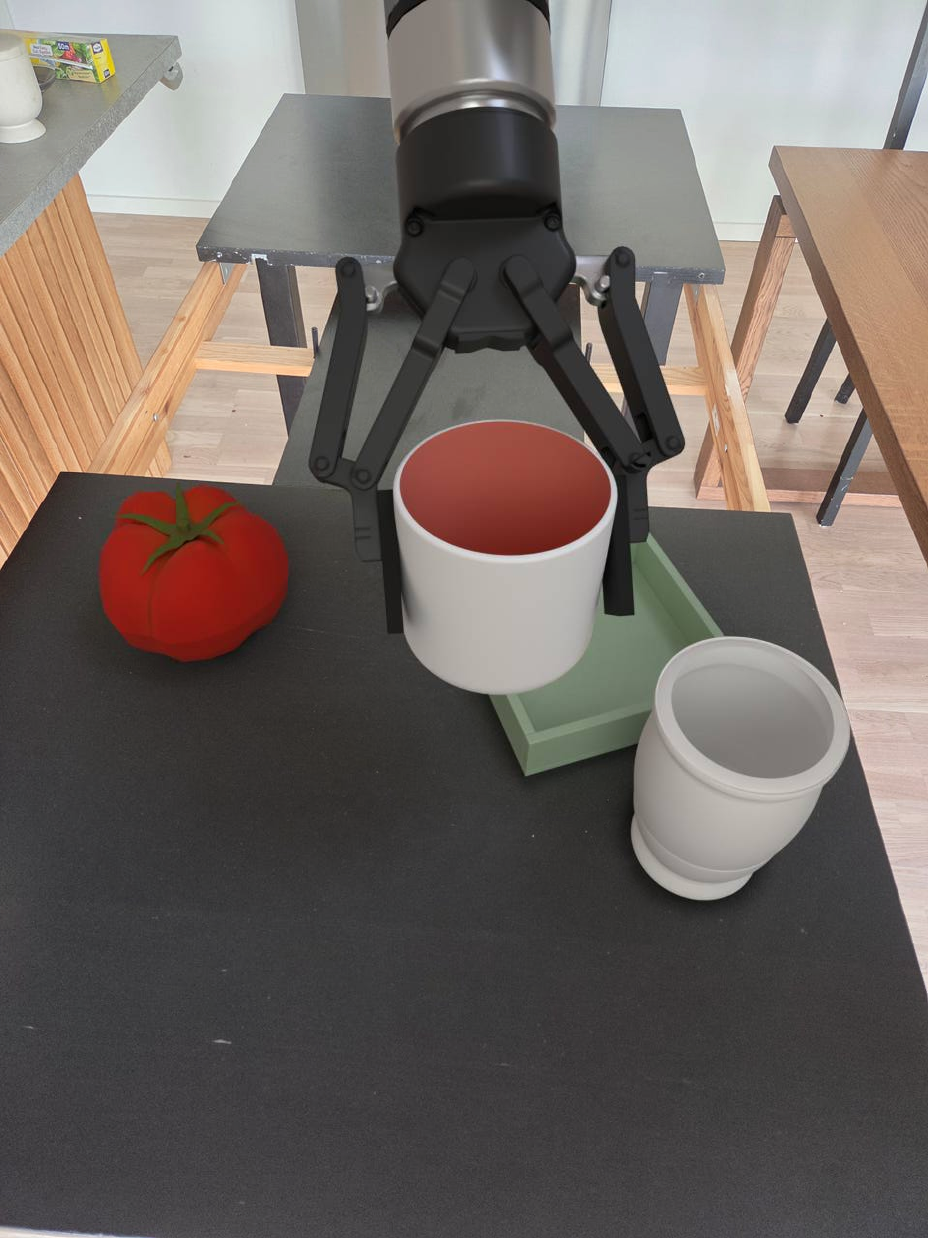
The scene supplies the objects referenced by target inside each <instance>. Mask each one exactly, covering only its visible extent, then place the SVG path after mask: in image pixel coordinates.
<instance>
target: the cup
mask: <svg viewBox="0 0 928 1238" xmlns="http://www.w3.org/2000/svg"><path fill="white" fill-rule="evenodd" d="M392 489H393V499H394V512H395V522H396V532H397V545H398V559H399V572H400V585H401V599H402V612H403V626H404V633H403V634H404V637H405V639H406V642H407V644H408V646H409V648H410V650H411V652H412V653H413V655H414V656H415V657H416V658H417V659H418V661H419V662H420V663H421V664H422V665H423V666H424V667H425V668H426V669H427V670H428V671H430V672H431V673H432V674H433V675H435V676H436V677H438V678H439V679H440V680H442V681H443V682H446V683H447V684H450V685H452V686H453V687H457V688H459V689H462V690H465V691H469V692H472V693H477V694H483V695H489V694H492V695H508V694H518V693H523V692H528V691H532V690H535V689H538V688H541V687H543V686H546V685H548V684H550V683H552V682H553V681H555V680H557V679H558V678H560V677H561V676H563V675H564V674H566V673H567V672H568V671H569V670H570V669H571V668H572V667H573V666H574V665H575V664H576V663H577V662H578V661H579V659H580V658H581V657H582V655H583V654H584V652H585V650H586V649H587V647H588V644H589V642H590V639H591V636H592V632H593V627H594V622H595V617H596V611H597V606H598V601H599V595H600V590H601V584H602V579H603V574H604V568H605V563H606V558H607V552H608V547H609V542H610V537H611V531H612V526H613V521H614V515H615V510H616V505H617V486H616V482H615V479H614V476H613V474H612V472H611V470H610V468H609V467H608V466H607V464H606V463H605V461H604V460H603V459H602V457H601V456H600V454H599V453H598V451H595V449H593V448H592V447H591V446H590V445H588V444H587V443H585V442H584V441H583V440H581V439H579V438H577V437H575V436H574V435H572V434H569V433H567V432H565V431H563V430H561V429H558V428H555V427H552V426H548V425H546V424H541V423H537V422H532V421H526V420H518V419H506V418H505V419H499V418H497V419H494V418H493V419H481V420H474V421H468V422H463V423H460V424H455V425H453V426H450V427H446V428H444V429H441V430H439V431H437V432H435V433H433V434H431V435H429V436H428V437H426V438H424V439H423V440H421V441H420V442H418V443H417V444H416V445H415V446H413V447H412V448H411V449H410V450H409V451H408V452H407V453H406V455H405V456H404V457H403V458H402V460H401V462H400V463H399V465H398V467H397V469H396V471H395V475H394V477H393V484H392Z"/></svg>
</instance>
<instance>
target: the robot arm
mask: <svg viewBox="0 0 928 1238" xmlns="http://www.w3.org/2000/svg"><path fill="white" fill-rule="evenodd" d="M383 10H384V11H383V12H384V23H385V33H386V37H387V38H386V39H387V42H386V52H387V66H388V67H387V68H388V81H389V82H388V83H389V94H390V95H389V96H390V105H391V106H390V108H391V109H390V110H391V122H392V123H391V124H392V134H393V139H394V141H395V143H396V144H397V145H398V147H397V149H396V152H395V155H394V156H395V157H394V161H395V175H396V176H395V177H396V189H397V203H398V205H397V206H398V217H399V218H398V219H399V230H400V245H399V248H398V251H397V253H396V255H395V257H394V259H393V261H387V262H386V261H385V262H377V263H368V264H367V263H366V264H361V263H360V261H359V260H358V259H356V258H355V257H353V256H344V257H341V258H340V259H339V260H338V261H337V262H336V263H335V267H334V270H335V271H334V275H335V280H336V281H335V282H336V289H337V296H338V301H339V302H338V303H339V315H338V320H337V324H336V330H335V334H334V338H333V344H332V348H331V353H330V357H329V362H328V367H327V370H326V371H327V372H326V377H325V382H324V386H323V391H322V394H321V395H322V396H321V400H320V405H319V409H318V414H317V419H316V424H315V429H314V434H313V437H312V438H313V439H312V443H311V447H310V453H309V457H308V469H309V471H310V473H311V474H312V475H313V476H314V478H315V479H316V480H317V482H318V483H319V482H320V483H321V484H327V485H331V486H333V487H338V488H340V489H342V490H345V491H346V492H347V493H348V494H349V495H350V498H351V506H352V517H353V519H352V520H353V531H354V534H353V535H354V545H355V546H354V547H355V552H356V555H357V556H358V559H359V561H360V562H361V563H371V562H373V563H374V562H381V565H382V566H381V568H382V580H383V592H384V606H385V622H386V632H387V635H397V634H404V626H403V612H402V599H401V585H400V572H399V559H398V545H397V532H396V522H395V512H394V499H393V488H391V489H390V488H389V489H379V487H378V486H379V483H380V481H381V480H382V478H383V476H384V473H385V471H386V469H387V468H388V465H389V463H390V461H391V458H392V456H393V455H394V452H395V451H396V448H397V446H398V444H399V443H400V440H401V438H402V436H403V434H404V432H405V430H406V428H407V425H408V424H409V422H410V420H411V418H412V415H413V414H414V411H415V409H416V407H417V405H418V403H419V401H420V399H421V397H422V395H423V392H424V391H425V389H426V387H427V385H428V383H429V380H430V378H431V376H432V374H433V372H434V371H435V369H436V367H437V365H438V363H439V361H440V360H441V357H442V355H443V353H444V351H445V349H448V350H451V351H454V355H460V354H464V355H465V354H473V353H476V352H479V351H482V350H484V349H490V350H495V351H500V352H519V351H520V350H521V348H523V347H526V349H527V350H528V352H529V354H530V355H531V356H532V358H533V360H534V362H535V363H536V364H537V365H539V366H540V367H542V369H543V370H544V371H545V373H546V374H547V376H548V378H549V379H550V381H551V382H552V383H553V385H554V387H555V389H556V390H557V391H558V393H559V395H560V396H561V397H562V399H563V400H564V402H565V404H566V405H567V406H568V408H569V410H570V411H571V412H572V414H573V416H574V417H575V419H576V421H577V422H578V424H579V425H580V427H581V428H582V430H583V432H584V433H585V434H586V436H587V438H588V439H589V440H590V442H591V443H592V445H593V447H594V448H595V450H596V452H597V453H598V454H599V455H600V457H601V458H602V459H603V460H604V461H605V463H606V464H607V466H608V467H609V468H610V470H611V472H612V474H613V476H614V479H615V482H616V486H617V505H616V510H615V515H614V521H613V526H612V531H611V537H610V542H609V547H608V552H607V558H606V563H605V568H604V574H603V579H602V585H603V601H604V614H607V615H613V616H631V615H635V610H634V594H633V577H632V561H631V545H630V544H632V543H641V542H646V541H647V538H648V535H649V532H650V531H651V529H650V513H649V498H648V497H649V496H648V475H649V473H650V471H651V470H652V469H653V468H654V467H655V466H657V465H659V464H661V463H664V462H666V461H668V460H670V459H673V458H675V457H677V456H679V455H680V454H682V453H683V451H684V450H685V448H686V439H685V435H684V433H683V430H682V427H681V424H680V421H679V419H678V415H677V413H676V409H675V407H674V403H673V400H672V398H671V395H670V392H669V389H668V386H667V384H666V381H665V378H664V375H663V373H662V369H661V366H660V363H659V361H658V358H657V354H656V351H655V350H654V346H653V344H652V340H651V337H650V335H649V332H648V329H647V326H646V323H645V320H644V317H643V314H642V311H641V309H640V306H639V303H638V300H637V297H636V255H635V253H634V251H633V250H632V249H631V248H629V247H628V246H624V245H619V246H617V247H615V248H614V249H613V250H612V251H611V253H610V254H607V255H606V254H605V255H603V254H576V252H575V251H574V249H573V247H572V246H571V244H570V242H569V240H568V239H567V236H566V234H565V230H564V218H563V217H564V216H563V203H562V202H563V201H562V187H561V186H562V185H561V170H560V154H559V142H558V138H557V136H556V134H555V132H554V128H555V126H556V123H557V109H556V108H557V107H556V96H555V95H556V94H555V81H554V80H555V79H554V66H553V56H552V55H553V53H552V39H551V37H552V36H551V35H552V31H551V13H550V12H551V11H550V0H383ZM570 284H575V285H576V286H577V285H578V287H579V288H581V290H582V291H583V296H584V299H585V300H586V302H587V304H589V305H591V306H592V307H596V308H597V309H596V310H597V311H596V312H597V318H598V323H599V327H600V330H601V333H602V336H603V338H604V341H605V345H606V347H607V350H608V354H609V356H610V359H611V361H612V364H613V367H614V370H615V373H616V376H617V378H618V381H619V385H620V387H621V390H622V393H623V396H624V398H625V401H626V404H627V408H628V410H629V412H630V416H631V419H632V421H633V425H634V427H635V430H636V433H637V435H638V436H637V435H636V433H635V432H634V430H633V428H632V427H631V426H630V424H629V422H628V421H627V419H626V418H625V416H624V414H623V413H622V412H621V410H620V409H619V407H618V406H617V404H616V402H615V401H614V399H613V398H612V396H611V394H610V393H609V392H608V390H607V389H606V387H605V386H604V384H603V382H602V381H601V379H600V377H599V376H598V374H597V373H596V371H595V370H594V368H593V367H592V365H591V364H590V362H589V360H588V359H587V358H586V356H585V355H584V353H583V352H582V350H581V348H580V347H579V344H578V343H577V342H576V340H575V338H574V332H573V330H572V327H571V325H570V324H569V322H568V321H567V319H566V318H565V316H564V315H563V314H562V312H561V310H560V308H559V307H558V306H557V305H558V303H559V302H560V300H561V299H562V296H563V295H564V293H565V292H566V290H567V289H568V287H569V285H570ZM393 291H396V292H397V293H398V294H399V295H400V297H401V298H402V299H403V301H404V302H405V303H406V304H407V305H408V307H409V308H410V309H411V311H412V312H413V313H414V314H415V315H416V317H417V318H418V319H419V320H420V325H419V327H418V329H417V331H416V333H415V335H414V338H413V339H412V340H413V341H412V343H411V346H410V348H409V350H408V352H407V354H406V356H405V358H404V360H403V363H402V364H401V367H400V368H399V371H398V373H397V375H396V377H395V379H394V381H393V383H392V385H391V387H390V389H389V391H388V393H387V396H386V397H385V400H384V402H383V403H382V405H381V408H380V410H379V411H378V414H377V416H376V418H375V419H374V422H373V424H372V427H371V428H370V430H369V433H368V435H367V436H366V439H365V441H364V443H363V445H362V447H361V449H360V451H359V453H358V454H357V455H358V456H356V459H355V461H354V460H352V459H348V458H346V457H343V455H344V449H345V444H346V440H347V436H348V431H349V427H350V422H351V416H352V411H353V407H354V402H355V397H356V392H357V388H358V384H359V379H360V373H361V370H362V364H363V360H364V356H365V350H366V346H367V342H368V341H367V340H368V334H369V318H370V317H375V316H377V315H379V314H380V313H381V312H382V310H383V309H384V303H385V299H386V297H387V295H388V294H390V293H391V292H393Z"/></svg>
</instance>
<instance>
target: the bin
mask: <svg viewBox="0 0 928 1238" xmlns="http://www.w3.org/2000/svg"><path fill="white" fill-rule="evenodd" d="M630 545H631V561H632V577H633V594H634V610H635V615H631V616H613V615H607V614H604V601H603V585H602V584H601V590H600V595H599V601H598V606H597V611H596V617H595V622H594V627H593V632H592V636H591V639H590V642H589V644H588V647H587V649H586V650H585V652H584V654H583V655H582V657H581V658H580V659H579V661H578V662H577V663H576V664H575V665H574V666H573V667H572V668H571V669H570V670H569V671H568V672H567V673H566V674H564V675H563V676H561V677H560V678H558V679H557V680H555V681H553V682H552V683H550V684H548V685H546V686H543V687H541V688H538V689H535V690H532V691H528V692H523V693H518V694H508V695H492V694H488V696H489V699H490V701H491V704H492V706H493V708H494V711H495V712H496V714H497V717H498V719H499V721H500V724H501V726H502V728H503V731H504V732H505V734H506V737H507V739H508V741H509V743H510V745H511V748H512V750H513V752H514V755H515V756H516V759H517V762H518V764H519V765H520V768H521V770H522V772H523V774H524V776H525V777H528V776H531V775H532V776H533V775H535V774H538V773H542V772H545V771H548V770H552V769H555V768H559V767H562V766H566V765H569V764H572V763H576V762H579V761H582V760H583V761H584V760H586V759H589V758H593V757H596V756H597V757H598V756H599V755H603V754H607V753H610V752H613V751H617V750H620V749H624V748H628V747H630V746H634V745H638V744H639V740H640V737H641V734H642V731H643V729H644V726H645V724H646V722H647V720H648V718H649V716H650V714H651V712H652V710H653V697H654V692H655V688H656V685H657V682H658V679H659V677H660V675H661V672H662V671H663V669H664V667H665V666H666V665H667V663H668V662H669V661H670V660H671V659H672V658H673V657H674V656H675V655H676V654H677V653H679V652H680V651H681V650H683V649H685V648H686V647H688V646H690V645H692V644H694V643H697V642H700V641H703V640H707V639H711V638H717V637H726V636H725V634H724V633H723V632H722V630H721V629H720V628H719V626H718V625H717V623H716V622H715V621H714V618H712V617H711V615H710V613H709V612H708V611H707V610H706V608H705V607H704V605H703V604H702V603H701V601H700V600H699V598H698V597H697V596H696V594H695V593H694V592H693V590H692V589H691V588H690V586H689V584H688V583H687V582H686V580H685V579H684V578H683V576H682V575H681V573H679V571H678V570H677V568H676V566H675V565H674V564H673V563H672V561H671V559H669V557H668V555H666V553H665V552H664V550H663V549H662V547H661V546H660V545H659V543H658V542H657V541H656V539H655V538H654V536H653V535H652V534H651V532H650V531H649V535H648V538H647V541H646V542H641V543H632V544H630Z"/></svg>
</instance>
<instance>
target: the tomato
mask: <svg viewBox="0 0 928 1238" xmlns="http://www.w3.org/2000/svg"><path fill="white" fill-rule="evenodd" d="M174 493H175V499H174V498H173V497H172V496H170V494H168V493H167V492H166V491H143V490H138V491H136V492H135V493H133V494H132V495H130V496H129V497H128V498H126V499H124V500H123V501H122V502H121V505H120V507H119V509H118V511H117V513H116V515H110V517H112V518H115V521H114V522H115V523H114V528H113V530H112V531H111V533H110V535H109V536H108V538H107V540H106V541H105V542H104V545H103V547H102V548H101V550H100V555H99V564H98V580H99V589H100V598H101V602H102V606H103V612H104V615H106V617H107V618H108V619H109V621H110V622H111V623H112V625H113V626H114V627H115V629H116V630H117V631H118V633H119V634H120V635H121V636H122V637H123V639H124V641H126V643H127V644H128V645H129V646H132V647H134V648H136V649H139V650H141V651H145V652H150V653H156V654H162V655H164V656H165V655H166V656H168V657H170V658H172V659H174V660H177V661H180V662H182V663H188V662H196V661H205V660H211V659H213V658H217V657H220V656H222V655H224V654H227V653H230V652H233V651H235V650H236V649H238V648H239V646H240V645H241V644H242V643H243V642H244V641H246V639H247V638H249V636H251V635H252V634H253V633H255V632H257V631H258V630H260V629H261V628H264V627H266V626H267V625H269V624H271V623H272V621H273V620H274V618H275V617H276V615H277V613H278V611H279V610H280V608H281V606H282V605H283V602H284V600H285V599H286V596H287V594H288V581H289V569H290V568H289V566H290V559H289V556H288V553H287V550H286V547H285V545H284V542H283V540H282V538H281V536H280V533H279V532H278V531H277V528H275V527H274V525H272V524H271V523H270V522H268V521H267V520H266V519H264V518H263V516H261V515H260V514H256V513H253V512H252V513H251V512H250V511H249V510H248V509H247V508H246V507H245V506H243V504H244V503H247V502H248V500H247V501H238V500H237V499H236V498H235V497H234V496H233V495H232V494H230V493H228V492H227V491H225V490H223V489H222V488H219V487H217V486H211V485H206V484H198V485H195V486H193V487H191V488H188V489H186V490H185V491H182V488H181V485H180V482H179V481H178V480H177V481H176V487H175V492H174Z"/></svg>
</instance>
